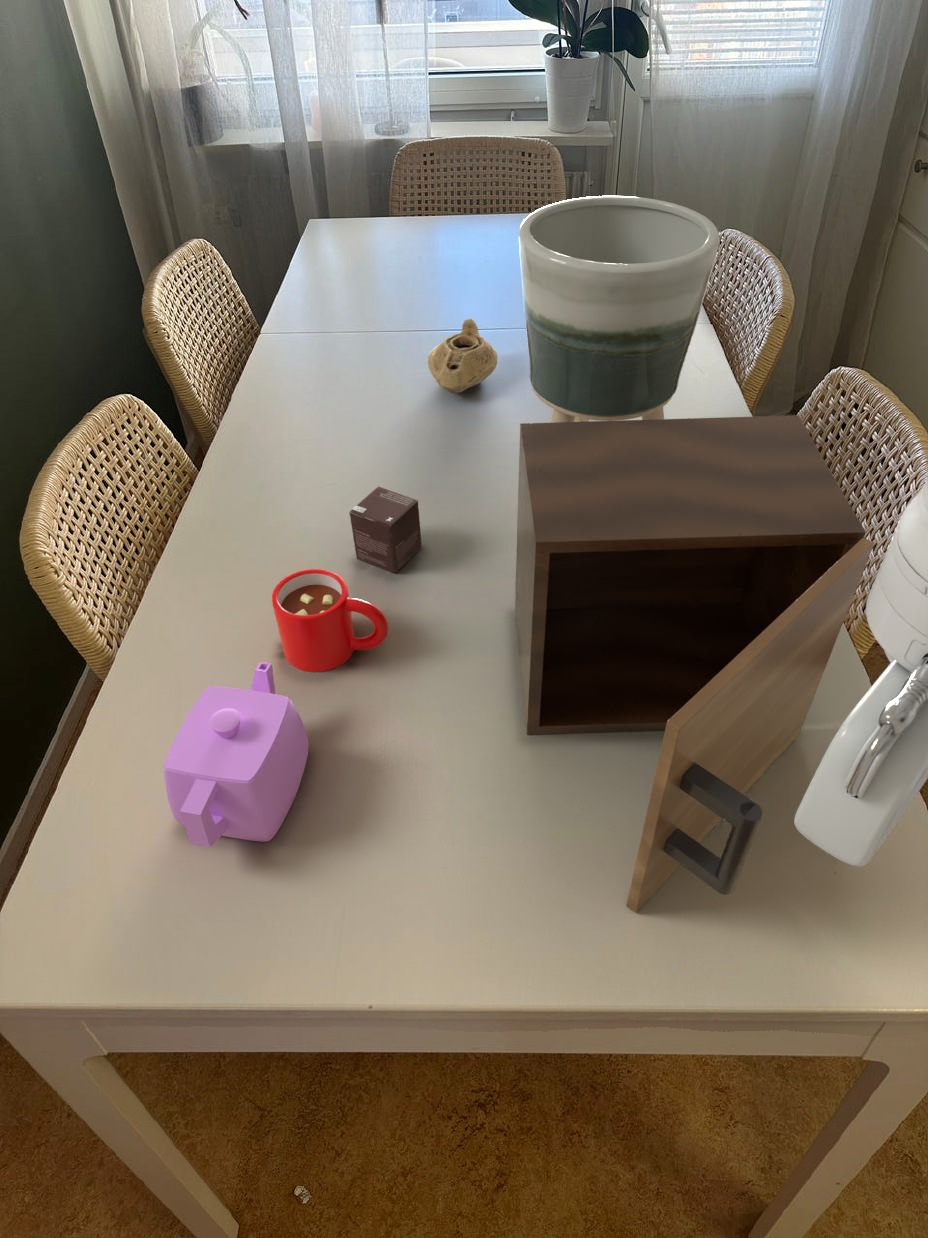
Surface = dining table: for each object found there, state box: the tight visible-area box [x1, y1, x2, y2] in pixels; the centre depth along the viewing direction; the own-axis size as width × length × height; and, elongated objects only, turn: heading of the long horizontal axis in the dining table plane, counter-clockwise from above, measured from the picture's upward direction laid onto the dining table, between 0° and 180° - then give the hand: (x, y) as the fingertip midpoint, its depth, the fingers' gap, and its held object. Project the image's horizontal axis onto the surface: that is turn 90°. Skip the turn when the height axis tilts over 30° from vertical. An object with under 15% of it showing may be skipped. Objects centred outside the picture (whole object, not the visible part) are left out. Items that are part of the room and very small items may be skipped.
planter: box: [518, 195, 721, 423], centre depth 106 cm, size 22×22×33 cm
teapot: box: [163, 661, 310, 848], centre depth 79 cm, size 18×10×10 cm, turn 169°
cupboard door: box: [626, 537, 875, 913], centre depth 69 cm, size 7×26×24 cm, turn 135°
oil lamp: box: [427, 318, 498, 394], centre depth 135 cm, size 11×15×8 cm
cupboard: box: [514, 414, 867, 736], centre depth 84 cm, size 18×26×24 cm
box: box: [349, 485, 423, 574], centre depth 104 cm, size 6×6×7 cm
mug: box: [271, 568, 389, 673], centre depth 93 cm, size 8×12×8 cm, turn 83°
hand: (883, 785), depth 48 cm, fingers open, 8 cm apart
